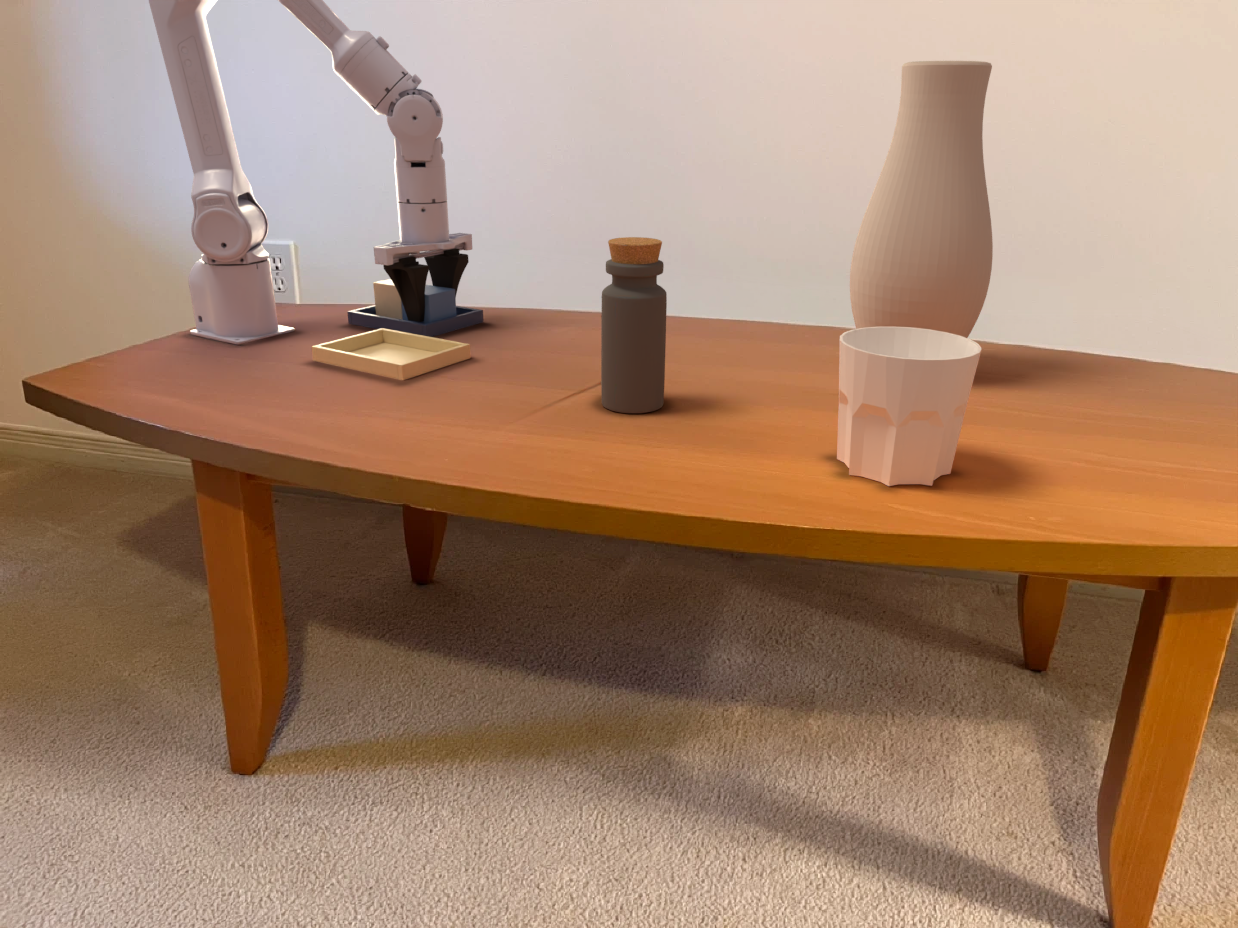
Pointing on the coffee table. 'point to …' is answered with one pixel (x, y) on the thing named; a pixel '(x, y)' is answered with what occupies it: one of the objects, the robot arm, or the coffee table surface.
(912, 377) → the cup
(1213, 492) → the coffee table surface
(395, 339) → the cream tray
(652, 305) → the bottle
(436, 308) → the blue block
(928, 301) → the vase
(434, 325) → the blue tray
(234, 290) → the robot arm
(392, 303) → the cream block
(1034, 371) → the coffee table surface
